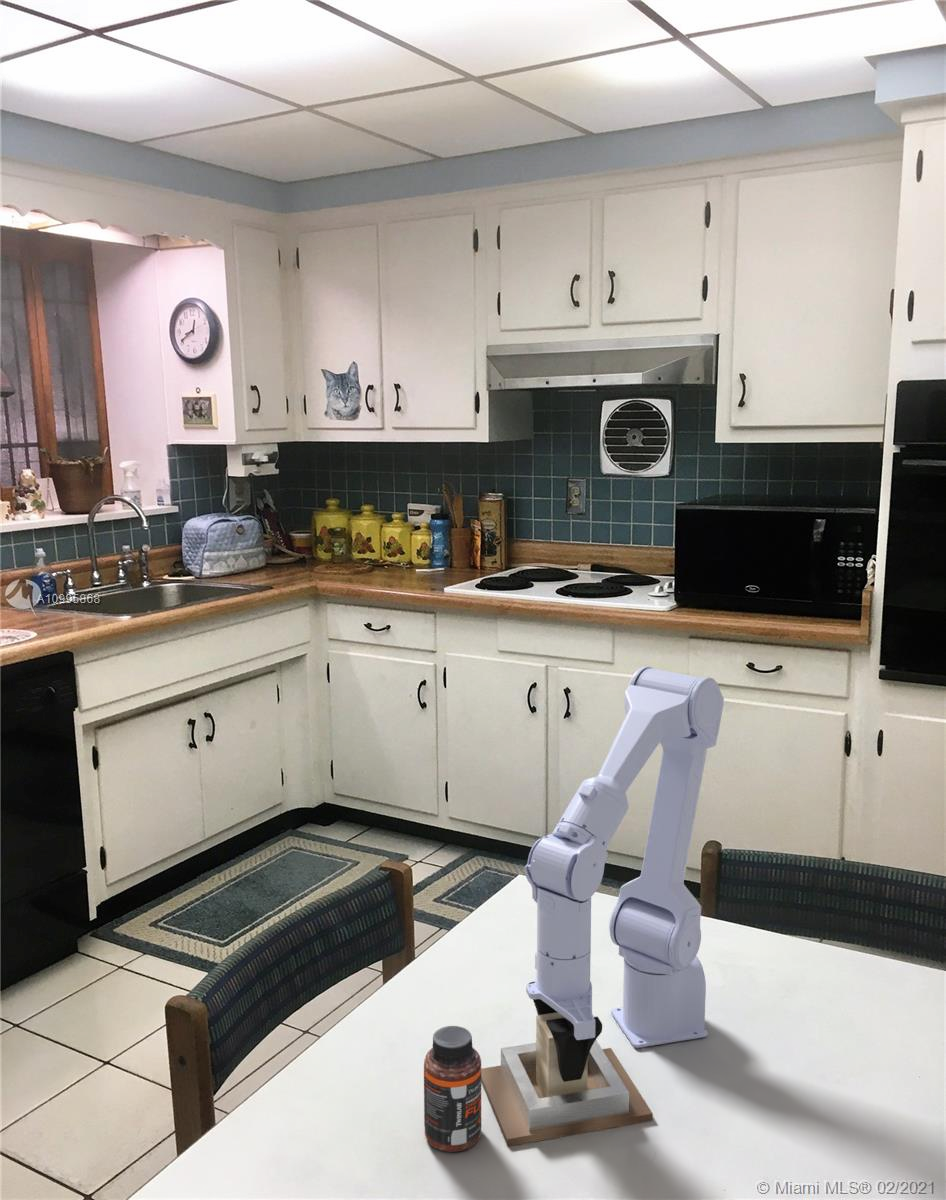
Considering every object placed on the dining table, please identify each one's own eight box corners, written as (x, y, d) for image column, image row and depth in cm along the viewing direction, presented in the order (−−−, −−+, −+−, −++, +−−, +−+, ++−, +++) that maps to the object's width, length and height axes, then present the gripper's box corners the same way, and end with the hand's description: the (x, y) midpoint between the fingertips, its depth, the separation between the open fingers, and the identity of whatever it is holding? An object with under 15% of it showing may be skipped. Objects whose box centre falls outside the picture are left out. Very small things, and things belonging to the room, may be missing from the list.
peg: (536, 1081, 115) (536, 1015, 113) (573, 1075, 116) (574, 1009, 114) (548, 1106, 111) (548, 1038, 109) (587, 1099, 112) (588, 1032, 110)
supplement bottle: (475, 1159, 104) (474, 1056, 102) (418, 1151, 105) (416, 1050, 103) (486, 1120, 110) (486, 1022, 108) (432, 1113, 111) (430, 1016, 109)
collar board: (610, 1054, 121) (611, 1028, 120) (652, 1120, 110) (653, 1092, 109) (478, 1075, 117) (478, 1048, 117) (507, 1146, 106) (507, 1117, 105)
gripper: (509, 919, 116) (509, 1029, 119) (548, 987, 102) (547, 1110, 105) (569, 912, 118) (568, 1021, 120) (615, 977, 104) (613, 1099, 106)
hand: (562, 1062), depth 113 cm, fingers open, 5 cm apart
